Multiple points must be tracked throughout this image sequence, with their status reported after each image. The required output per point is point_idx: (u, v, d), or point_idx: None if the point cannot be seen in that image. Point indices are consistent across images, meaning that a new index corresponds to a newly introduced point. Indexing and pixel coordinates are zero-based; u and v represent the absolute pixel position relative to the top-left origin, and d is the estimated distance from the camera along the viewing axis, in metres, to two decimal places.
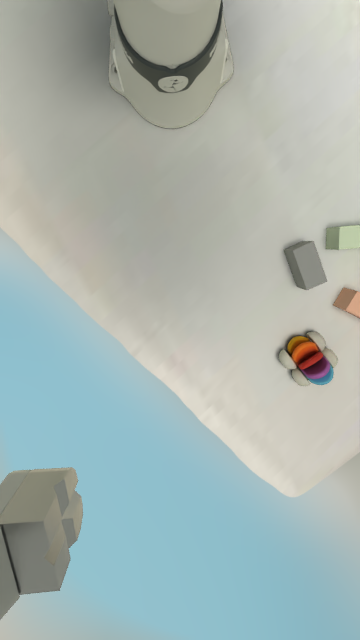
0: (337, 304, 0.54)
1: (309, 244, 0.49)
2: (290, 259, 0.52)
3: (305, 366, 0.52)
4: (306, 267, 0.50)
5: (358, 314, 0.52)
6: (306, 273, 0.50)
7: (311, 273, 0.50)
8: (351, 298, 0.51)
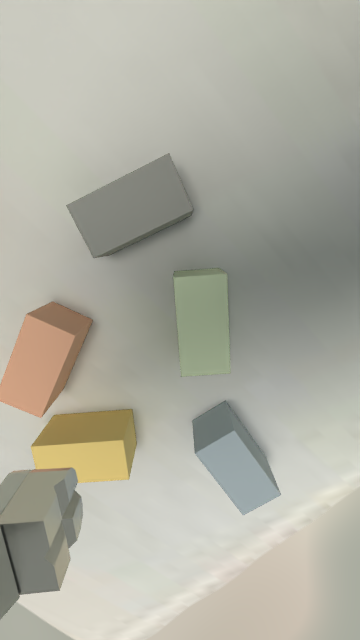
0: (51, 306, 0.24)
1: (184, 199, 0.19)
2: None
3: None
4: (125, 197, 0.19)
5: (19, 345, 0.21)
6: (110, 199, 0.19)
7: (110, 213, 0.19)
8: (56, 326, 0.21)
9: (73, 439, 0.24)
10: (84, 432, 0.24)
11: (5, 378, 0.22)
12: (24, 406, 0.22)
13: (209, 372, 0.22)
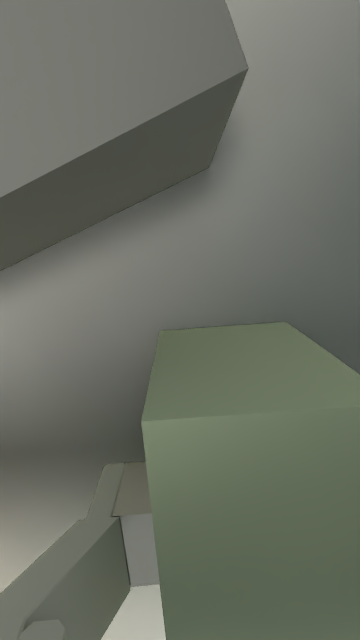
0: None
1: (200, 0, 0.03)
2: None
3: None
4: None
5: None
6: None
7: None
8: None
9: None
10: None
11: None
12: None
13: None
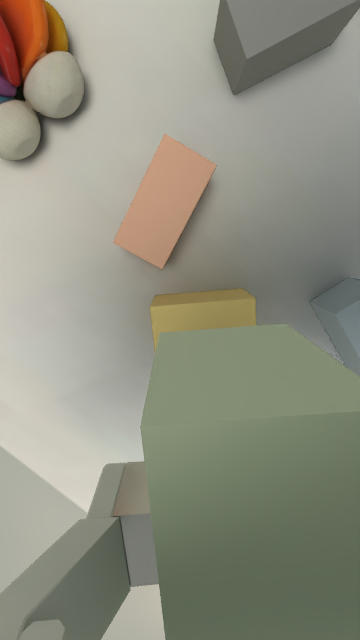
0: None
1: None
2: None
3: None
4: None
5: (150, 174, 0.18)
6: None
7: None
8: (195, 153, 0.18)
9: (195, 301, 0.21)
10: (203, 298, 0.22)
11: (128, 216, 0.19)
12: (145, 253, 0.20)
13: None
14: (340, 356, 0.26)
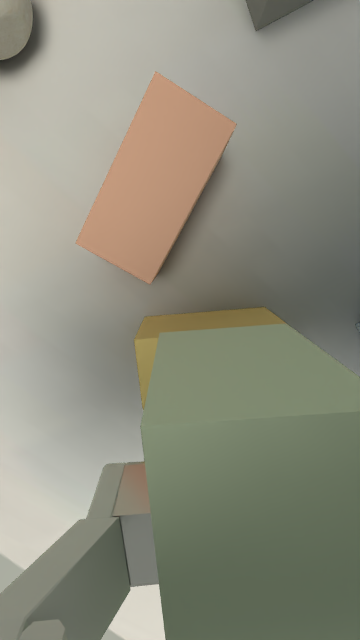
0: None
1: None
2: None
3: None
4: None
5: (132, 137, 0.12)
6: None
7: None
8: (203, 105, 0.12)
9: None
10: (212, 324, 0.15)
11: (99, 203, 0.12)
12: (124, 260, 0.13)
13: None
14: None
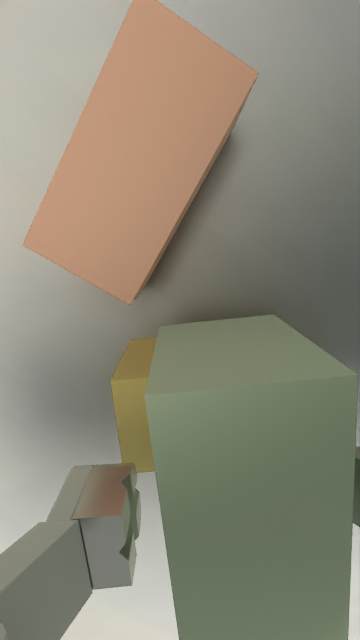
0: None
1: None
2: None
3: None
4: None
5: (104, 89, 0.08)
6: None
7: None
8: (209, 44, 0.08)
9: None
10: None
11: (55, 188, 0.08)
12: (94, 271, 0.09)
13: None
14: None
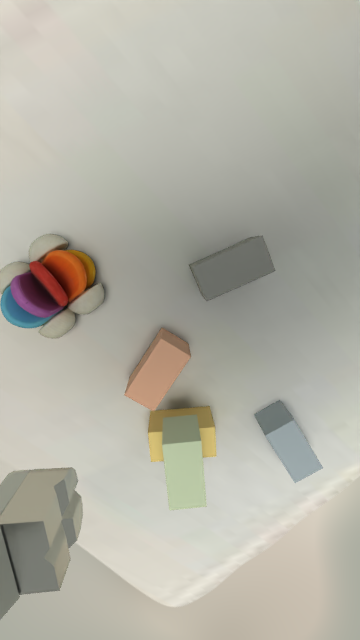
0: (164, 331, 0.33)
1: (270, 264, 0.29)
2: (239, 243, 0.30)
3: (35, 267, 0.26)
4: (231, 262, 0.28)
5: (150, 359, 0.30)
6: (221, 263, 0.28)
7: (221, 272, 0.29)
8: (178, 348, 0.30)
9: None
10: None
11: (135, 381, 0.31)
12: (144, 402, 0.31)
13: (190, 506, 0.29)
14: None
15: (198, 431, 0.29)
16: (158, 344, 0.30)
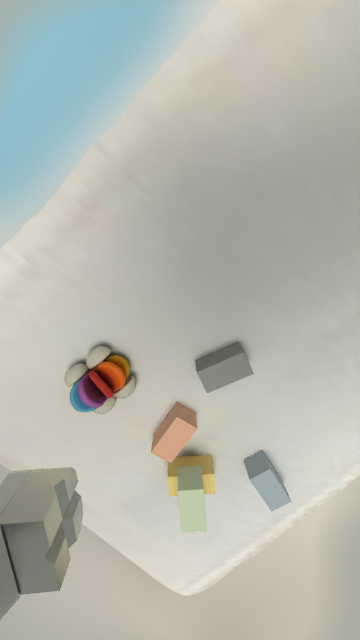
0: (179, 406, 0.47)
1: (250, 369, 0.42)
2: (229, 351, 0.44)
3: (94, 379, 0.40)
4: (223, 369, 0.42)
5: (169, 429, 0.44)
6: (216, 369, 0.42)
7: (216, 375, 0.42)
8: (188, 422, 0.44)
9: None
10: None
11: (158, 443, 0.45)
12: (164, 457, 0.46)
13: (196, 530, 0.43)
14: None
15: (201, 481, 0.43)
16: (175, 420, 0.44)
